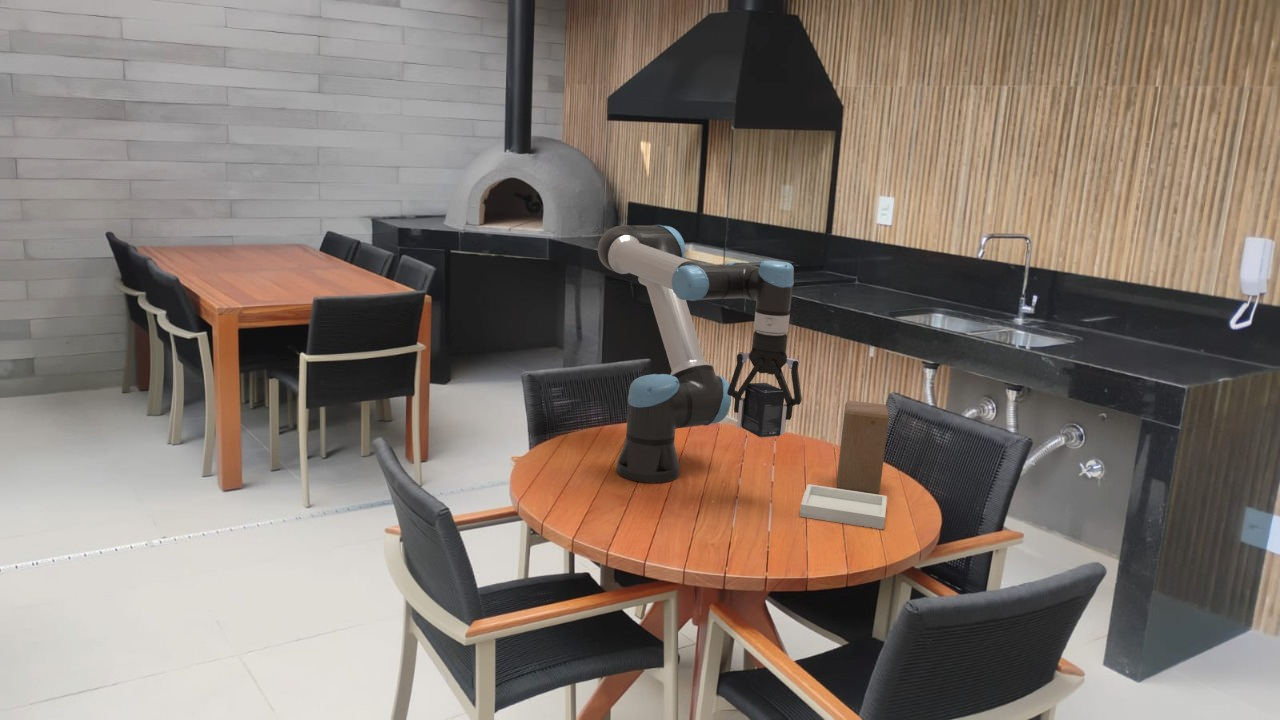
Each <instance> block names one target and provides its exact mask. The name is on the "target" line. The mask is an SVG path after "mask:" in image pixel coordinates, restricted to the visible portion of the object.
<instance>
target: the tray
mask: <svg viewBox="0 0 1280 720" xmlns="http://www.w3.org/2000/svg"><path fill="white" fill-rule="evenodd" d="M887 502H888V496H887V495H882V494H870V493H864V492H857V491H850V490H844V489H838V487H837V488H835V487H829V486H823V485H818V484H817V485H816V484H808V483H807V485H806V488H805V491H804V494H803V497H802V500H801V503H800V506H799V507H800V509H799V517H802V518H808V519H814V520H815V519H816V520H819V521H826V522H827V521H828V522H833V523H841V524H846V525H853V526H858V527H859V526H860V527H863V526H864V528H870V527H872V528H871V529H876V528H877V529H878V530H882V529H883V530H884V529H885V521H886V512H887V511H886V510H887ZM883 530H882V531H883Z"/></svg>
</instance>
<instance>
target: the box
mask: <svg viewBox="0 0 1280 720" xmlns="http://www.w3.org/2000/svg"><path fill="white" fill-rule="evenodd" d="M744 398H745V399H744V410H743V421H742V427H741V428H742V429H743V430H746V431H747V432H750V433H751V434H753V435H755V436H757V437H758V438H771V437H772V438H774V437H780V436H781V434H780V432H781V423H782V413H783V406H784V404H785V399H784V391H782V390H781V389H780V387H777V386H774V385H772V384H769V383H768V382H754V383H753V382H750V384H749V385H748V387H747V388H746V390H745V391H744Z"/></svg>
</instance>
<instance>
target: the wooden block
mask: <svg viewBox="0 0 1280 720" xmlns="http://www.w3.org/2000/svg"><path fill="white" fill-rule="evenodd" d="M889 420H890V416H889V410H888V406H887V404H884V403H877V402H876V403H875V402H867V401H865V402H864V401H859V400H858V401H857V400H856V401H855V400H847V401H846V402H845V404H844V414H843V422H842V430H841V437H840V438H841V439H840V446H839V457H838V465H837V474H836V487H837V489H844V490H850V491H857V492H864V493H871V494H877V495H879V493H880V492H881V486H882V485H881V484H882V483H881V482H882V476H883V467H884V460H885V459H884V458H885V451H886V444H887V435H888V428H889Z"/></svg>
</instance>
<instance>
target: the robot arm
mask: <svg viewBox="0 0 1280 720" xmlns="http://www.w3.org/2000/svg"><path fill="white" fill-rule="evenodd" d="M686 252H687V250H686V244H685V241H684V238H683V237H682V234H681V233H680V232H679V231H678V230H677V229H675V228H674V227H672V226H669V225H661V224H654V225H633V224H632V225H629V224H627V225H625V224H624V225H617V226H614V227H611V228H610V229H608V230H607V231H605V233H603V235H602V236H601V237H600V239H599V241H598V245H597V254H598V258H599V261H600V262H601V264H602V265H603V266H604V268H605V267H606V268H607V269H608V270H610V271H612V272H615V273H618V274H620V275H626V274H631V275H634V276H637V280H638V282H639V284H641V285H643V286H645V287H646V289H647V293H648V296H649V299H650V303H651V307H652V309H653V313H654V316H655V321H656V323H657V326H658V330H659V333H660V336H661V341H662V343H663V346H664V349H665V352H666V356H667V360H668V363H669V366H670V369H671V372H670V374H667V373H660V374H657V373H652V374H646V375H645V374H644V375H641V376H639V377H637V378H635V379H634V380H632V382H631V384H630V385H629V390H628V396H627V403H628V404H627V417H626V435H625V441H624V444H623V446H622V449H621V451H620V454H619V457H618V459H617V463H616V473H617V474H618V475H619V476H620V477H622V478H624V479H627V480H630V481H631V480H632V481H633V482H634V481H635V482H640V483H648V484H649V483H651V484H652V483H655V484H657V483H659V484H660V483H667V482H670V481H674V480H676V479H678V478H679V476H680V470H681V469H680V468H681V466H680V465H681V464H680V461H679V457H678V453H677V448H676V445H675V439H676V429H677V430H678V429H684V428H691V427H700V426H706V427H707V426H710V425H713V424H717V423H720V422H722V421H723V420H724V419H725V418H726V417H727V415H728V413H729V411H730V407H731V405H732V398H733V399H734V403H733V410H734V413H737V422H736V423H737V425H736V429H741V428H742V421H743V410H744V399H745V397H742V396H743V395H744V394H745V390H746V388H747V387H748V385H749V384H750V383H752V381H753V380H754V378H755V376H756V375H757V373H758V374H768V375H771V376H773V375H774V377H775V379H776V380H777V384H778V385H779V389H781V390H782V391H784V405H783V413H782V423H781V432H780V435H783V436H784V434H785V433H786V429H787V420H788V421H790V420H791V418H792V417H793V409H794V407H793V406H798V405H799V406H800V404H801V403H802V399H803V397H802V391H801V383H800V376H799V366H800V359H799V358H795V359H794V358H793V359H792V358H790V357H789V358H788V356H787V344H788V334H787V333H788V332H789V326H790V317H791V316H790V315H791V305H792V296H793V287H794V284H795V282H794V278H795V277H794V276H795V274H794V272H795V271H794V270H795V269H794V268H795V267H794V266H793V265H792V263H790V262H786V261H781V260H763V261H761V262H760V264H759V266H755V265H751V264H749V263H748V264H747V262H738V261H737V262H736V261H731V262H729V263H727V264H713V265H709V264H706V265H705V264H701V263H698V262H695V261H692V260H690V259H687V258H686V255H685V254H686ZM725 299H727V300H728V299H729V300H731V299H747V300H749V301H754V302H756V303H755V309H754V311H755V312H754V323H753V329H754V330H755V331H754V332H752V341H751V342H752V344H751V351H750V352H749V353H746V352H745V353H744V352H742V351H741V352H739V353H738V354H737V355H736V366H735V369H734V372H733V375H732V377H731V380H730V384H729V382H728V381H727V379H726V378H724V377H723V376H721V375H716V372H715V368H714V365H713V364H711V363H709V362H708V361H706V360H705V357H704V354H703V351H702V348H701V343H700V341H699V338H698V335H697V331H696V329H695V325H694V321H693V319H692V318H693V317H692V315H691V313H690V309H689V306H688V303H687V301H692V302H696V301H701V300H702V301H704V300H725ZM748 359H749V360H750V362H751V364H752V365H753V368H752V369H751V371H750V372H749V373H748V375H747V377H746V379H745V380H744V381H743V383H742V384H741V386H740V387H739V389H738V390H736V389H737V385H738V382H739V379H740V376H741V373H742V370H743V367H744V364H746V363H747V361H748ZM786 364H788V368H789V369H790V374H791V382H792V388H793V389H792V390H793V396H792V394H791V391H790V389H789V385H788V384H787V382H786V379H785V376H784V373H783V369H782V368H783V367H784V366H785V365H786ZM793 397H794V398H793Z"/></svg>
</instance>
